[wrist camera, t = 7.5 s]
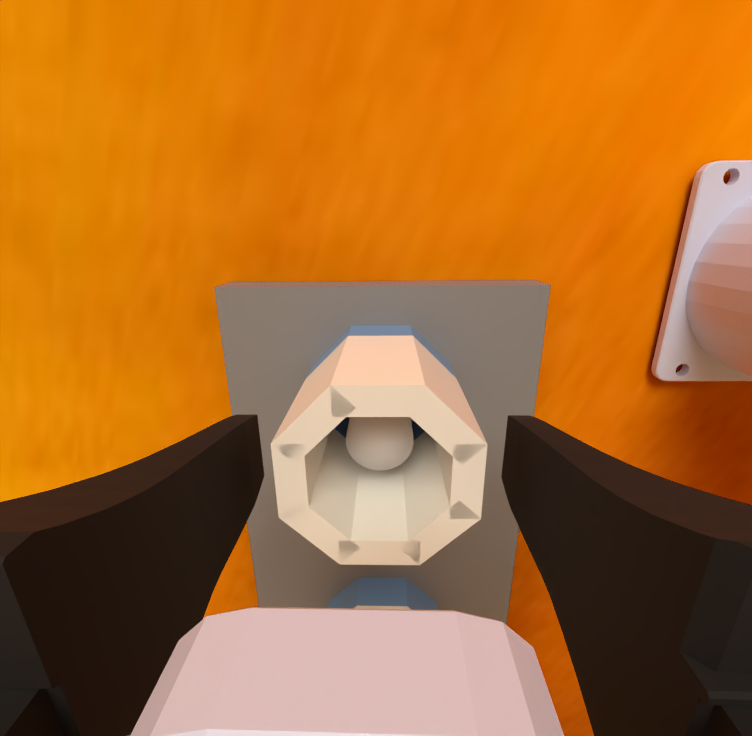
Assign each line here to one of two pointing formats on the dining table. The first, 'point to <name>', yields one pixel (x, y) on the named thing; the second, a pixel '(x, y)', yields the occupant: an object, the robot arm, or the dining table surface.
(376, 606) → the seated sleeve
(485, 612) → the pin board
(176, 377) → the dining table surface
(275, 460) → the sleeve
